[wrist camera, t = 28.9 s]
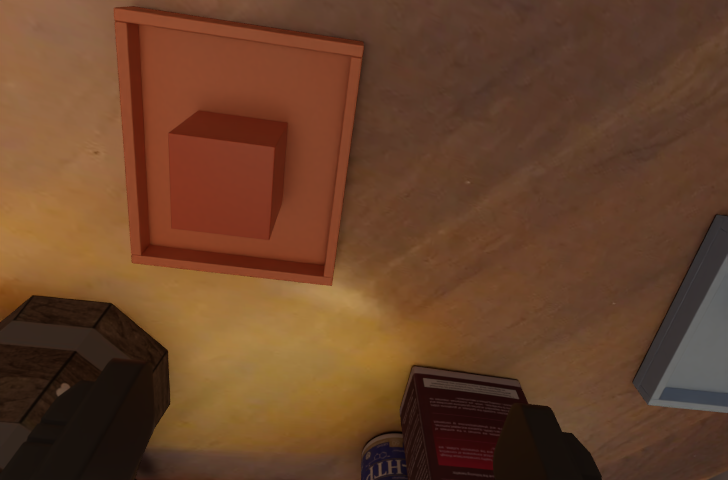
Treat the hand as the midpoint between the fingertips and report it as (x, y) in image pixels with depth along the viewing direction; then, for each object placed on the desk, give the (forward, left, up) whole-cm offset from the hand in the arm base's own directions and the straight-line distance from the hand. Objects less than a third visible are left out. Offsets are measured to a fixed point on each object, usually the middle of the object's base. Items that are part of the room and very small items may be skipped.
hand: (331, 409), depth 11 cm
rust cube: (+1, -6, -20) cm, 21 cm away
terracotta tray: (+1, -6, -21) cm, 21 cm away
